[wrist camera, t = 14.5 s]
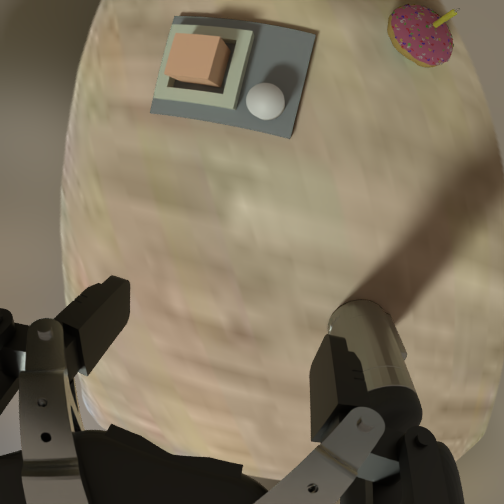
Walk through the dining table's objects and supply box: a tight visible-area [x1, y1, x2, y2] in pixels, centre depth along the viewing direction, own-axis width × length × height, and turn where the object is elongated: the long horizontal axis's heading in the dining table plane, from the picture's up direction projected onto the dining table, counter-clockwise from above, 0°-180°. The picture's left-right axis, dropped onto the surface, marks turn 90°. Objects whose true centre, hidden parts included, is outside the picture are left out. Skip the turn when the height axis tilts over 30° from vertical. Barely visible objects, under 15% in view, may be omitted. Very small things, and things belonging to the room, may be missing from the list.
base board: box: [150, 16, 315, 139], centre depth 30 cm, size 18×14×5 cm
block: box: [164, 33, 231, 88], centre depth 28 cm, size 5×5×6 cm
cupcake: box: [387, 4, 460, 67], centre depth 22 cm, size 9×8×12 cm
